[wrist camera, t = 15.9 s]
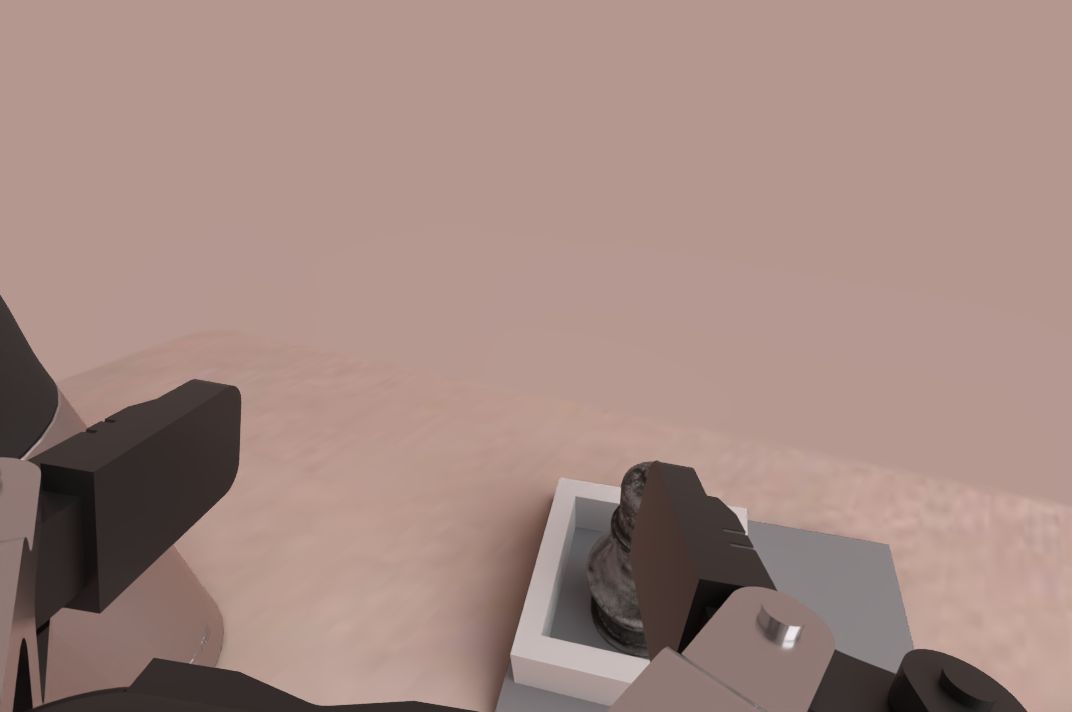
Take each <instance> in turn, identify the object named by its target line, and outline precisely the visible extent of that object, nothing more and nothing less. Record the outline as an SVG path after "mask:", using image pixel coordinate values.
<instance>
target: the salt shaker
mask: <svg viewBox="0 0 1072 712" xmlns="http://www.w3.org/2000/svg"><path fill="white" fill-rule="evenodd" d="M657 462H659V461H657ZM652 463H653V462H643V463H640V464H637V465H635V466H633V467H632V468H630V469H629V470H628V471H627V473H626V474H625V476H624V478H623V481H622V484H621V496H620V505H619V506H618V507H617V508H616V510H615V511H614V512H613V515H612V518H611V528H610V529H611V530H610V531H609V532H607V533H606V534H605V535H603V536H602V537H600V538H599V539H598V541H597V542H596V543H595V545H594V546H593V547H592V548H591V551H590V553H589V556H588V559H587V564H586V578H587V583H588V587H589V590H590V592H591V594H592V596H591V613H592V618H593V622H594V624H595V626H596V628H597V630H598V632H599V633H600V635H601V636H602V637H603V638H604V639H605V640H606V641H607V643H608V644H610V645H611V646H613V647H614V648H616V649H617V650H619V651H621V652H623V653H626V654H628V655H631V656H637V657H649V655H648V650H647V644H646V639H645V634H644V629H643V624H642V619H641V614H640V609H639V604H638V599H637V593H636V588H635V583H634V578H633V573H632V568H631V560H630V551H631V540H632V534H633V530H634V526H635V522H636V518H637V514H638V510H639V507H640V503H641V499H642V495H643V491H644V487H645V483H646V480H647V476H648V472H649V469H650V467H651V465H652Z"/></svg>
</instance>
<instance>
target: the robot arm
mask: <svg viewBox="0 0 1072 712" xmlns="http://www.w3.org/2000/svg"><path fill="white" fill-rule="evenodd" d="M240 422H241V395H240V391H239V389H238V388H237V387H235V386H231V385H226V384H220V383H214V382H209V381H203V380H197V379H193V380H190V381H189V382H187V383H185V384H183V385H181V386H179V387H178V388H176V389H174V390H172V391H170V392H169V393H167V394H165V395H163V396H161V397H159V398H158V399H155V400H151V401H147V402H144V403H140V404H136V405H133V406H129V407H127V408H125V409H123V410H121V411H119V412H117V413H115V414H113V415H112V416H110V417H108V418H106V419H105V422H102V421H100V422H98V423H97V424H95V425H93V426H91V427H89V428H87V426H86V425H85V424H84V422H83V421H82V420H81V418H80V417H79V415H78V414H77V413H76V411H75V410H74V409H73V407H72V406H71V404H70V403H69V402H68V400H67V399H66V398H65V396H64V395H63V393H62V392H61V391H60V389H59V388H58V387H57V385H56V384H55V382H54V381H53V379H52V378H51V377H50V375H49V374H48V373H47V371H46V370H45V369H44V367H43V366H42V364H41V363H40V362H39V360H38V359H37V357H36V356H35V354H34V353H33V351H32V349H31V347H30V346H29V344H28V342H27V340H26V338H25V337H24V335H23V333H22V331H21V330H20V328H19V326H18V324H17V322H16V321H15V319H14V317H13V315H12V313H11V312H10V310H9V308H8V307H7V305H6V303H5V302H4V300H3V299H2V297H1V295H0V712H477V711H471V710H465V709H459V708H453V707H447V706H441V705H435V704H429V703H423V702H417V701H405V702H388V703H371V704H354V705H337V706H319V705H314V704H311V703H308V702H306V701H304V700H302V699H299V698H297V697H295V696H293V695H290V694H288V693H286V692H284V691H281V690H279V689H277V688H275V687H272V686H270V685H268V684H266V683H263V682H261V681H259V680H257V679H254V678H252V677H250V676H247V675H245V674H243V673H241V672H237V671H231V670H225V669H219V668H215V666H216V663H217V660H218V657H219V654H220V651H221V648H222V641H223V634H224V630H223V621H222V616H221V614H220V612H219V609H218V607H217V605H216V604H215V602H214V601H213V599H212V598H211V597H210V595H209V594H208V593H207V591H206V590H205V588H204V587H203V586H202V584H201V583H200V582H199V580H198V579H197V577H196V576H195V575H194V573H193V572H192V571H191V569H190V567H189V566H188V565H187V563H186V562H185V560H184V559H183V558H182V556H181V555H180V554H179V552H178V551H177V549H176V548H175V547H174V545H173V544H174V543H175V542H176V541H177V540H178V539H179V538H180V537H181V536H182V535H183V534H184V533H185V532H187V531H188V530H189V529H190V528H191V527H192V526H193V525H194V524H195V523H196V522H197V521H198V520H199V519H200V518H201V517H202V516H203V515H204V514H205V513H206V512H207V511H209V510H210V509H211V508H212V507H213V506H214V505H215V504H216V503H217V502H218V501H219V500H220V499H221V498H222V497H223V496H224V495H225V494H226V493H227V492H228V491H229V489H230V488H231V486H232V484H233V482H234V480H235V477H236V474H237V471H238V466H239V451H240ZM745 533H746V531H745V530H744V528H743V526H742V524H741V522H740V520H739V519H738V517H737V515H736V514H735V513H734V512H733V511H732V510H731V509H730V508H729V507H727V506H726V505H725V504H724V503H723V502H722V501H721V500H720V499H718V498H717V497H711V496H707V495H706V493H705V491H704V489H703V487H702V485H701V483H700V480H699V478H698V476H697V474H696V472H695V470H694V469H693V468H691V467H685V466H679V465H674V464H668V463H662V462H657V461H654V462H653V463H652V465H651V467H650V469H649V472H648V476H647V480H646V483H645V487H644V491H643V495H642V499H641V503H640V507H639V510H638V514H637V518H636V522H635V526H634V530H633V534H632V540H631V551H630V560H631V568H632V573H633V578H634V583H635V588H636V593H637V599H638V604H639V609H640V614H641V619H642V624H643V629H644V634H645V639H646V644H647V650H648V655H649V660H650V663H649V665H648V666H647V667H646V668H645V669H644V670H643V671H642V672H641V673H640V675H639V676H638V677H637V678H636V679H635V680H634V681H633V682H632V684H631V685H630V686H629V687H628V688H627V689H626V690H625V691H624V692H623V694H622V695H621V696H620V697H619V698H618V699H617V700H616V701H615V702H614V704H613V705H612V706H611V707H610V708H609V709H608V710H607V711H606V712H1027V711H1026V710H1025V708H1024V707H1023V706H1022V705H1021V704H1020V702H1019V701H1018V700H1017V699H1016V698H1015V697H1014V696H1013V695H1012V694H1011V693H1010V692H1009V691H1008V690H1006V689H1005V688H1004V687H1003V686H1002V685H1000V684H999V683H998V682H997V681H995V680H994V679H993V678H991V677H990V676H988V675H987V674H985V673H984V672H982V671H980V670H979V669H977V668H976V667H974V666H972V665H970V664H968V663H966V662H964V661H962V660H960V659H958V658H955V657H953V656H950V655H947V654H945V653H941V652H938V651H933V650H927V649H916V650H912V651H909V652H907V653H906V654H905V656H904V657H903V659H902V662H901V664H900V666H899V668H898V671H897V673H896V674H895V673H893V672H890V671H887V670H885V669H882V668H880V667H877V666H875V665H872V664H870V663H867V662H864V661H862V660H859V659H857V658H854V657H852V656H849V655H847V654H845V653H842V652H840V651H838V650H836V649H835V640H834V637H833V634H832V632H831V631H830V629H829V627H828V626H827V625H826V623H825V622H824V621H823V620H822V619H821V618H820V617H819V616H818V615H817V614H816V613H815V612H814V611H812V610H811V609H810V608H808V607H807V606H806V605H804V604H803V603H801V602H799V601H798V600H796V599H794V598H792V597H790V596H788V595H786V594H783V593H781V592H778V591H777V589H776V587H775V585H774V583H773V581H772V579H771V578H770V576H769V574H768V572H767V570H766V568H765V567H764V565H763V563H762V561H761V559H760V557H759V555H758V554H757V552H756V550H753V547H754V546H753V544H752V543H751V541H750V539H749V537H748V535H745Z"/></svg>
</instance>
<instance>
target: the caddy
mask: <svg viewBox="0 0 1072 712" xmlns="http://www.w3.org/2000/svg"><path fill="white" fill-rule="evenodd" d="M620 496H621V487H615V486H609V485H603V484H597V483H591V482H585V481H579V480H573V479H567V478H561V477H560V479H559V482H558V486H557V489H556V493H555V496H554V500H553V504H552V507H551V511H550V514H549V518H548V521H547V525H546V529H545V532H544V536H543V539H542V543H541V546H540V550H539V553H538V557H537V561H536V564H535V568H534V571H533V575H532V578H531V582H530V586H529V589H528V593H527V596H526V600H525V603H524V607H523V611H522V614H521V618H520V621H519V625H518V628H517V632H516V636H515V639H514V643H513V646H512V650H511V653H510V660H509V664H508V667H507V671H506V674H505V678H504V681H503V685H502V689H501V692H500V696H499V699H498V703H497V706H496V710H495V712H606V711H607V710H608V709H609V708H610V707H611V706H612V705H613V704H614V702H615V701H616V700H617V699H618V698H619V697H620V696H621V695H622V694H623V692H624V691H625V690H626V689H627V688H628V687H629V686H630V685H631V684H632V682H633V681H634V680H635V679H636V678H637V677H638V676H639V675H640V673H641V672H642V671H643V670H644V669H645V668H646V667H647V666H648V665H649V663H650V660H649V657H637V656H631V655H628V654H626V653H623V652H621V651H619V650H617V649H616V648H614V647H613V646H611V645H610V644H608V643H607V641H606V640H605V639H604V638H603V637H602V636H601V635H600V633H599V632H598V630H597V628H596V626H595V624H594V622H593V618H592V613H591V596H592V594H591V592H590V590H589V587H588V583H587V578H586V564H587V559H588V556H589V553H590V551H591V548H592V547H593V546H594V545H595V543H596V542H597V541H598V539H599V538H600V537H602V536H603V535H605V534H606V533H607V532H609V531H610V530H611V529H610V528H611V518H612V515H613V512H614V511H615V510H616V508H617V507H618V506H619V505H620ZM726 506H727V507H729V508H730V509H731V510H732V511H733V512H734V513H735V514H736V515H737V517H738V519H739V520H740V522H741V524H742V526H743V528H744V530H745V531H746V533H745V535H748V537H749V539H750V541H751V543H752V544H753V546H754V547H753V550H756V552H757V554H758V555H759V557H760V559H761V561H762V563H763V565H764V567H765V568H766V570H767V572H768V574H769V576H770V578H771V579H772V581H773V583H774V585H775V587H776V589H777V591H778V592H781V593H783V594H786V595H788V596H790V597H792V598H794V599H796V600H798V601H799V602H801V603H803V604H804V605H806V606H807V607H808V608H810V609H811V610H812V611H814V612H815V613H816V614H817V615H818V616H819V617H820V618H821V619H822V620H823V621H824V622H825V623H826V625H827V626H828V627H829V629H830V631H831V632H832V634H833V637H834V640H835V649H836V650H838V651H840V652H842V653H845V654H847V655H849V656H852V657H854V658H857V659H859V660H862V661H864V662H867V663H870V664H872V665H875V666H877V667H880V668H882V669H885V670H887V671H890V672H893V673H895V674H896V673H897V671H898V668H899V666H900V664H901V662H902V659H903V657H904V656H905V654H906V653H907V652H909V651H912V650H914V646H913V642H912V638H911V634H910V630H909V625H908V621H907V617H906V613H905V609H904V605H903V601H902V596H901V592H900V588H899V584H898V580H897V576H896V572H895V567H894V563H893V559H892V555H891V551H890V547H889V545H888V544H882V543H876V542H871V541H865V540H859V539H853V538H847V537H841V536H836V535H830V534H824V533H818V532H812V531H807V530H801V529H795V528H789V527H783V526H778V525H772V524H766V523H760V522H754V521H748V520H747V509H746V508H740V507H734V506H728V505H726Z"/></svg>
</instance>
